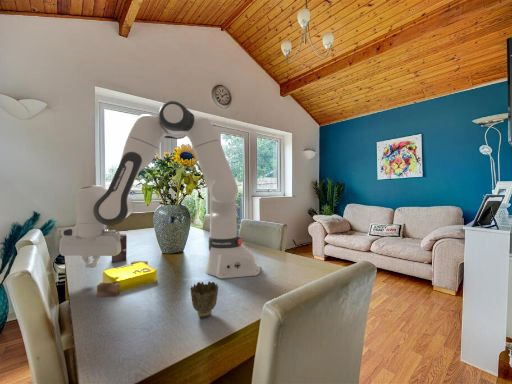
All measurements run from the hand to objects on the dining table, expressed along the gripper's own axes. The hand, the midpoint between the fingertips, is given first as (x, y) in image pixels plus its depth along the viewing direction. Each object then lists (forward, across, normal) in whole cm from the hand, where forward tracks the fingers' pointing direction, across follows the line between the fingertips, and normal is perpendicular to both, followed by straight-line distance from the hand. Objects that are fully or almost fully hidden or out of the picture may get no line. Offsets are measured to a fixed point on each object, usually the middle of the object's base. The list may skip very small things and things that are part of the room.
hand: (91, 267), depth 89 cm
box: (+6, +3, -25) cm, 26 cm away
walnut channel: (+5, -14, 0) cm, 14 cm away
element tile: (+6, -14, 0) cm, 15 cm away
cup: (+5, -46, +25) cm, 52 cm away
